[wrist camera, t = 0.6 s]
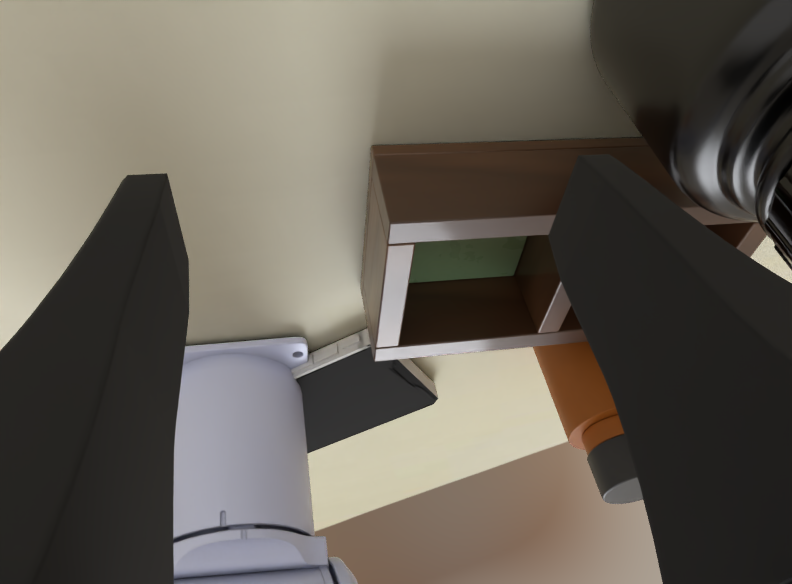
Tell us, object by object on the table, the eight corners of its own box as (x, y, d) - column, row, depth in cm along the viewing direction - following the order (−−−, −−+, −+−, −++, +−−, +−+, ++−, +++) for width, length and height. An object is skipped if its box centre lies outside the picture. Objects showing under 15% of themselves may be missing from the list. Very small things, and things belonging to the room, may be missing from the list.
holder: (655, 266, 31) (694, 332, 29) (360, 288, 29) (373, 362, 26) (736, 133, 25) (793, 201, 23) (370, 144, 23) (389, 223, 20)
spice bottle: (591, 341, 36) (664, 501, 30) (518, 348, 35) (579, 514, 29) (619, 291, 32) (707, 461, 26) (539, 298, 32) (612, 474, 26)
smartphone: (137, 443, 34) (376, 340, 30) (139, 423, 35) (372, 320, 31) (232, 484, 40) (442, 402, 36) (232, 467, 41) (438, 384, 37)
